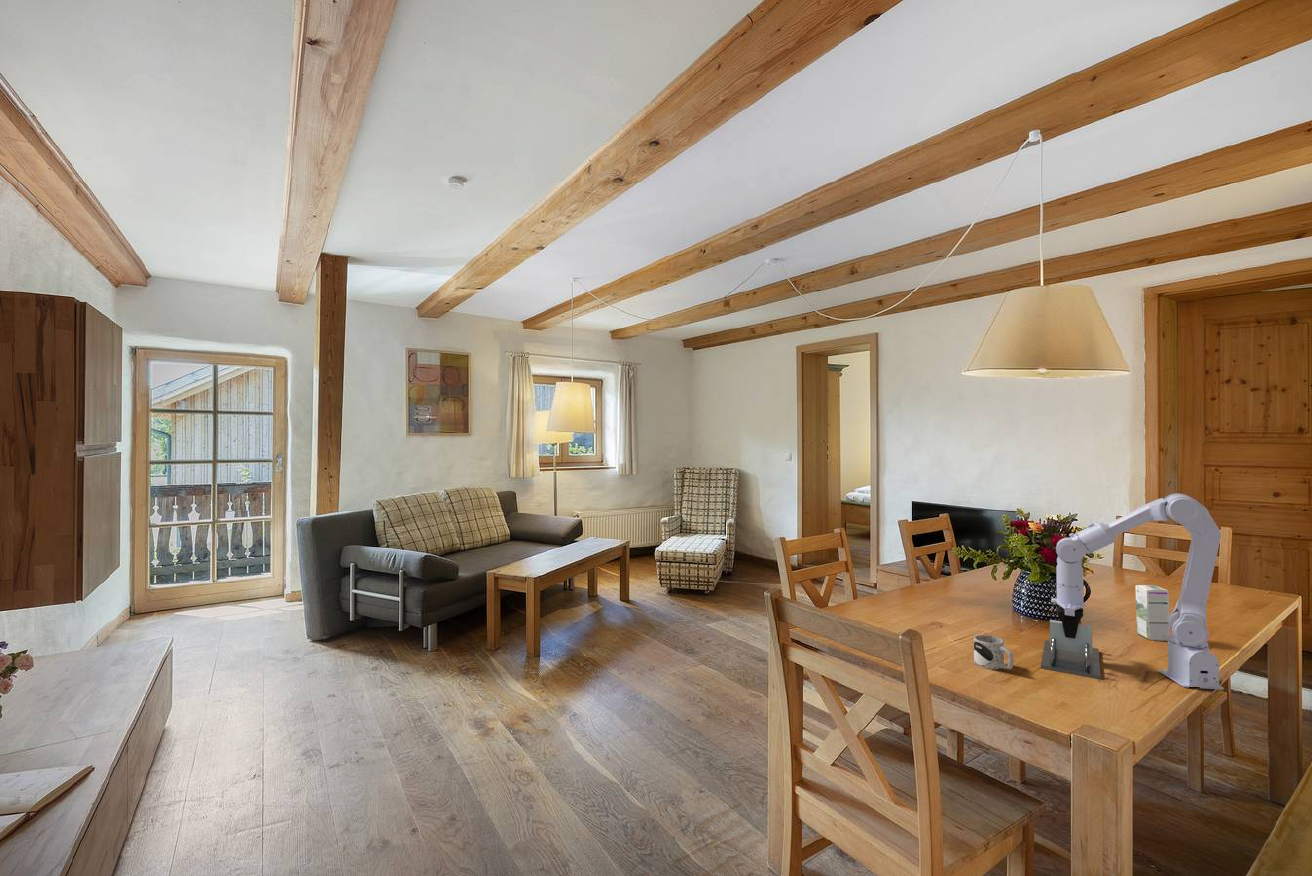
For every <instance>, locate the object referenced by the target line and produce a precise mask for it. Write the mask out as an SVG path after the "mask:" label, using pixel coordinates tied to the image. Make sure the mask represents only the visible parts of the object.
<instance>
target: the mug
mask: <svg viewBox="0 0 1312 876" xmlns="http://www.w3.org/2000/svg"><path fill="white" fill-rule="evenodd" d="M1004 642H1005V641H1004V639H1003V638H1000V637H999V636H998V637H997V636H994V635H989V634H977V635H974V636H973V659H974V660H973V663H975V664H976V666H977V665H979V666H981V667H984V668H983V669H985V668H988V669H987V670H989V669H995V670H994V671H997V670H996V669H1001V670H1003V669H1005V670H1010V671H1011V670H1013V667H1014V660H1015V659H1014V653H1013V652H1012V651H1011V650H1010V649H1008V648H1007V647H1006V646H1005V643H1004ZM1005 654H1006V655H1007V658H1008V661H1007V662H1008V664H1006V663H1005ZM975 664H974V665H975ZM979 666H978V667H979ZM981 667H980V668H981ZM1002 668H1003V669H1002Z"/></svg>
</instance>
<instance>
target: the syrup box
mask: <svg viewBox="0 0 1312 876" xmlns="http://www.w3.org/2000/svg"><path fill="white" fill-rule="evenodd" d="M1169 593H1170V591H1169V590H1168V589H1165V588H1163V587H1160V586H1157V585H1153V584H1152V585H1151V584H1137V585H1135V616H1136V617H1135V619H1136V620H1135V621H1136V623H1135V624H1136V634H1137V635H1139V636H1141V637H1143V638H1145V639H1146V640H1149V641H1159V642H1161V641H1163V642H1168V636H1169V635H1171V628H1170V627H1169V625H1168V616H1169V615H1170V594H1169Z"/></svg>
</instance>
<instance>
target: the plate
mask: <svg viewBox="0 0 1312 876" xmlns="http://www.w3.org/2000/svg"><path fill="white" fill-rule="evenodd" d="M1052 638H1055V639H1056V649H1060V650H1066V651H1072V652H1077V653H1083V654H1085V644H1089V655H1092V648H1093V625H1087V624H1080V623H1079V625H1078V629H1077V634H1076V637H1075V639H1073V638H1067V637H1065V634H1064V630H1063V625H1062V621H1061V620H1055V619H1049V641H1050V648H1051V647H1052Z"/></svg>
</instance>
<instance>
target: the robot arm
mask: <svg viewBox="0 0 1312 876" xmlns="http://www.w3.org/2000/svg"><path fill="white" fill-rule="evenodd" d="M1167 517H1169V518H1170V519H1172V520H1173V521H1175V522H1176V523H1177V524H1179V525H1181V526H1182V527H1183V528H1184V529H1185V530H1186V531H1187V532H1188V533H1189V534H1190V535H1191V540H1190V543H1189V544H1190V545H1189V548H1188V555H1187V559H1186V564H1185V570H1184V574H1183V579H1182V582H1181V583H1182V584H1181V587H1180V593H1179V598H1178V599H1177V601H1176V603H1175V607H1174V609H1173V611H1172V612H1171V613H1169V616H1168V625H1169V627H1170V630H1172V632H1170V635H1169V636H1168V641H1167V669H1159V670H1158V672H1159V673H1161V674H1162V675H1164V676H1166V677H1167V678H1169V679H1170V680H1172V681H1174V682H1175V683H1177V684H1178V685H1180V686H1181V687H1183V688H1189V687H1196V686H1199V687H1200V688H1199V689H1206V690H1207V689H1208V690H1219V691H1220V690H1221V691H1224V689H1225V688H1224V687H1223V686H1222V685H1220V663H1219V660H1218V658H1217V657H1216V655H1215V654H1213V653H1212V652H1211V650H1210V648H1209V642H1208V640H1209V637H1210V632H1209V629H1208V628H1207V617H1208V616H1207V603H1208V599H1209V596H1210V595H1209V594H1210V590H1211V584H1212V580H1213V579H1212V578H1213V575H1214V572H1215V566H1216V561H1217V556H1218V552H1219V548H1220V542H1221V537H1222V532H1221V530H1220V528H1219V527H1218V525H1217V524H1216V522H1215V521H1214V519H1213V517H1212V515H1211V514H1210V512H1209V510H1208V509H1207V507H1206V506H1204V505H1203V504H1202V503H1200V502H1199V501H1198V500H1196V499H1195V498H1193V497H1191V496H1189V495H1187V494H1185V493H1178V492H1177V493H1176V492H1175V493H1171V494H1169V495H1166V496H1165V497H1164V498H1163V497H1161V498H1158V499H1155V500H1153V501H1151V502H1148V503H1145V504H1143V505H1142V506H1139V507H1138V508H1136V509H1134V510H1132V511H1130V512H1129V513H1126V514H1124V515H1122V516H1121V517H1119V518H1117V519H1115V520H1113V521H1111V522H1109V523H1103V522H1096V523H1094V522H1091V523H1089V524H1087V527H1086V528H1084V529H1081V530H1080V531H1078V532H1076V533H1074V532H1071V533H1069V534H1068V536H1069V537H1064V538H1061V539H1059V540H1058V541H1057V543H1056V546H1055V553H1056V554H1057V558H1056V563H1057V565H1056V568H1055V569H1056V598H1054V597H1053V598H1051V600H1050V601H1051V603H1054V604H1057V606H1056V607H1057V609H1056V613H1057V615H1058V617H1059V618H1060V621H1061V622H1062V625H1063V630H1064V634H1065V637H1067V638H1073V639H1075V637H1076V634H1077V629H1078V625H1079V624H1080V622H1081V620H1082V619H1083V617H1084V608H1085V602H1084V568H1083V562H1082V561H1083V558H1084V556H1085V555H1086V554H1087V555H1090V554H1092V553H1095V552H1096V551H1099V550H1101V549H1104V548H1105V547H1108V546H1109V545H1112V544H1114V543H1115V542H1116V539H1117V536H1118V535H1120V534H1123V533H1125V532H1127V531H1129V530H1132V529H1134V528H1136V527H1137V528H1138V527H1139V526H1141V525H1144V524H1146V523H1148V522H1151V521H1153V522H1154V521H1156V522H1168V519H1167Z"/></svg>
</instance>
